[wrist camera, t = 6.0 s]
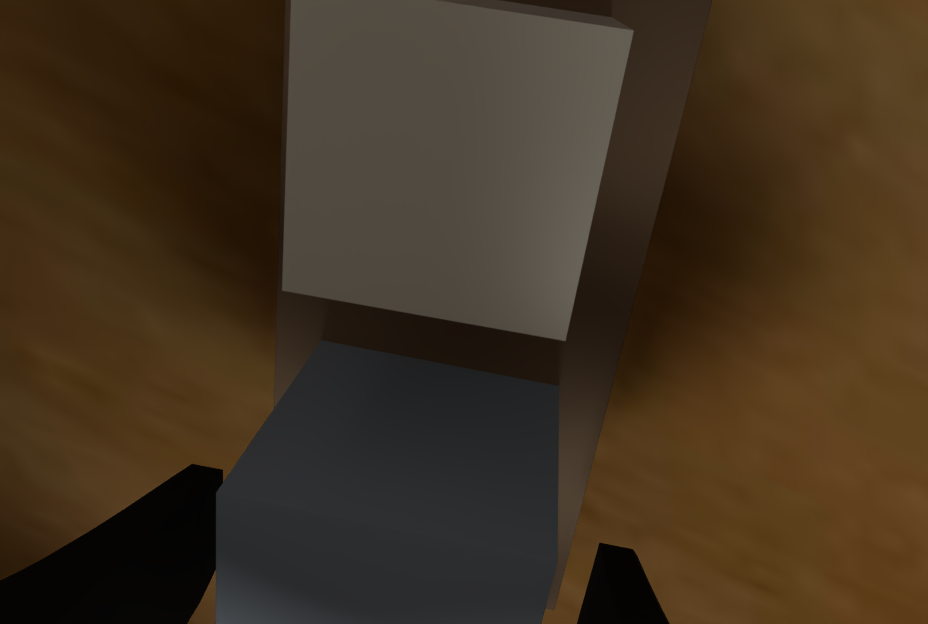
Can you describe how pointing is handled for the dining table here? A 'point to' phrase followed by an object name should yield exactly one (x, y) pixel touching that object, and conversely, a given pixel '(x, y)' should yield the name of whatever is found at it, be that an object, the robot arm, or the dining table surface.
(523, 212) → the grey block
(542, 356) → the base slab
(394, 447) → the grey cube
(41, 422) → the dining table surface
